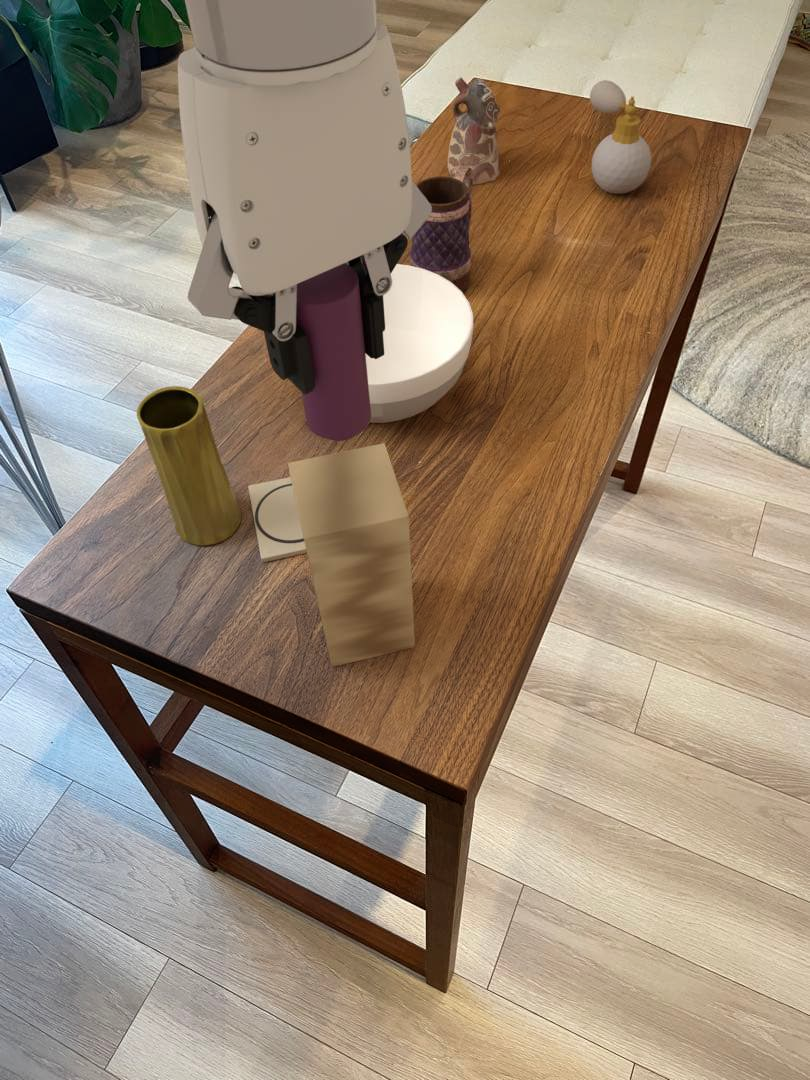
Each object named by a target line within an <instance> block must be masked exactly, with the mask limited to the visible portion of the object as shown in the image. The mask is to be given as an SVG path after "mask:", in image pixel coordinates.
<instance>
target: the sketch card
mask: <svg viewBox="0 0 810 1080" xmlns="http://www.w3.org/2000/svg"><path fill="white" fill-rule="evenodd" d="M247 489H248V493H249V499H250V505H251V511H252V515H253V521H254V527H255V533H256V538H257V544H258V549H259V555H260V560H261V563H266V562H271V561H272V562H273V561H276V560H280V559H281V560H282V559H286V558H290V557H294V556H299V555H304V554H307V552H306V547H305V543H304V538H303V533H302V529H301V524H300V519H299V514H298V510H297V505H296V500H295V496H294V491H293V486H292V482H291V477H290V476H289V477H284V478H279V479H273V480H270V481H265V482H259V483H255V484H250V485H248V486H247Z"/></svg>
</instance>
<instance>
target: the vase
mask: <svg viewBox="0 0 810 1080" xmlns="http://www.w3.org/2000/svg"><path fill="white" fill-rule="evenodd" d="M136 418H137V421H138V422H139V425H140V428H141V430H142V433H143V436H144V439H145V442H146V445H147V448H148V451H149V453H150V455H151V458H152V461H153V463H154V465H155V468H156V471H157V475H158V476H159V479H160V483H161V485H162V488H163V492H164V495H165V497H166V501H167V504H168V507H169V510H170V514H171V516H172V519H173V521H174V527H175V531H176V533H177V534H178V536H179V537H180V538H181V539H182V540H183V541H185V542H186V543H188V544H191V545H195V546H201V547H204V546H212V545H216V544H219V543H221V542H223V541H226V539H228V538H230V537H231V536H232V535H233V534H234V533H235V532H236V531H237V529H238V528H239V526H240V525H241V521H242V509H241V508H240V505H239V504H238V501H237V498H236V496H235V493H234V490H233V488H232V485H231V482H230V479H229V477H228V474H227V472H226V469H225V467H224V465H223V463H222V460H221V456H220V454H219V453H220V452H219V450H218V447H217V443H216V440H215V436H214V434H213V432H212V428H211V427H212V426H211V424H210V420H209V417H208V414H207V411H206V406H205V404H204V402H203V400H202V398H201V396H200V395H199V393H197V392H196V391H194V390H193V389H191V388H188V387H185V386H178V385H171V386H165V387H161V388H158V389H156V390H154V391H152V392H151V393H148V394H147V395H146V396H145V397H144V398H143V399H142V400H141V401H140V402H139V404H138V406H137V408H136Z"/></svg>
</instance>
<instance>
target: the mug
mask: <svg viewBox="0 0 810 1080" xmlns="http://www.w3.org/2000/svg"><path fill="white" fill-rule="evenodd" d="M415 185H416V186H417V187H418V189H419V190H420V191H421V192H422V194H423V195H424V196H425V198H426V199H427V200H428V202H429V203H430V204H431V206H432V212H431V214H430V216H429V218H428V219H427V220H426V221H425V222H424V224H423V225H422V226H421V227H420V229H419V230H418V231H417V232H416V233H415V235H414V236H413V237H412V238H411V240H412V241H411V249H410V255H409V258H410V259H409V266H413V267H418V268H422V269H425V270H428V271H430V272H433V273H435V274H438V275H440V276H442V277H443V278H445V279H447V280H448V281H450V282H452V283H453V284H454V285H455V286H456V287H457V288H458V289H459V290H460V291H462V293H464V291H465V290H466V289H468V287H469V285H470V280H471V279H470V270H471V267H472V250H471V248H470V229H471V225H472V204H473V203H472V201H473V186H474V185H473V173H472V169H471V168H470V167H469V166H468V165H467V164H456V166H455V167H454V169H453V171H452V173H451V176H446V175H445V176H432V177H428V178H425V179H423V180H421V181H419V182H418V183H416V184H415Z"/></svg>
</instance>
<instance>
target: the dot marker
mask: <svg viewBox="0 0 810 1080" xmlns="http://www.w3.org/2000/svg"><path fill="white" fill-rule="evenodd" d="M296 325H297V326H298V327H299V328H300V329H302V330H303V331H304V332H305V334H306V335H307V338H308V342H309V349H310V355H311V361H312V367H313V374H314V380H315V387H314V390H313V391H312V392H310V393H308V394H306V395H304V394H303V393H302V392H301V391H300V393H301V399H302V404H303V410H304V416H305V421H306V424H307V427H308V429H309V430H310V431H311V432H312V434H314V435H316V436H317V437H319V438H321V439H326V440H330V441H335V442H342V441H347V440H350V439H352V438H354V437H355V436H357V435H360V434H361V433H362V432H363V431H365V429H366V428H367V427H368V426H369V424H370V423H371V422H370V419H371V408H370V397H369V386H368V376H367V365H366V354H365V344H364V333H363V323H362V312H361V301H360V291H359V280H358V275H357V273H356V272H355V270H354V269H353V268H352V267H350V266H349V265H347V264H345V263H343V264H341V265H339V266H337V267H334V268H332V269H330V270H328V271H325V272H323V273H321V274H319V275H316V276H314V277H312V278H309V279H307V280H305V281H302V282H300V283H298V284H297V313H296Z"/></svg>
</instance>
